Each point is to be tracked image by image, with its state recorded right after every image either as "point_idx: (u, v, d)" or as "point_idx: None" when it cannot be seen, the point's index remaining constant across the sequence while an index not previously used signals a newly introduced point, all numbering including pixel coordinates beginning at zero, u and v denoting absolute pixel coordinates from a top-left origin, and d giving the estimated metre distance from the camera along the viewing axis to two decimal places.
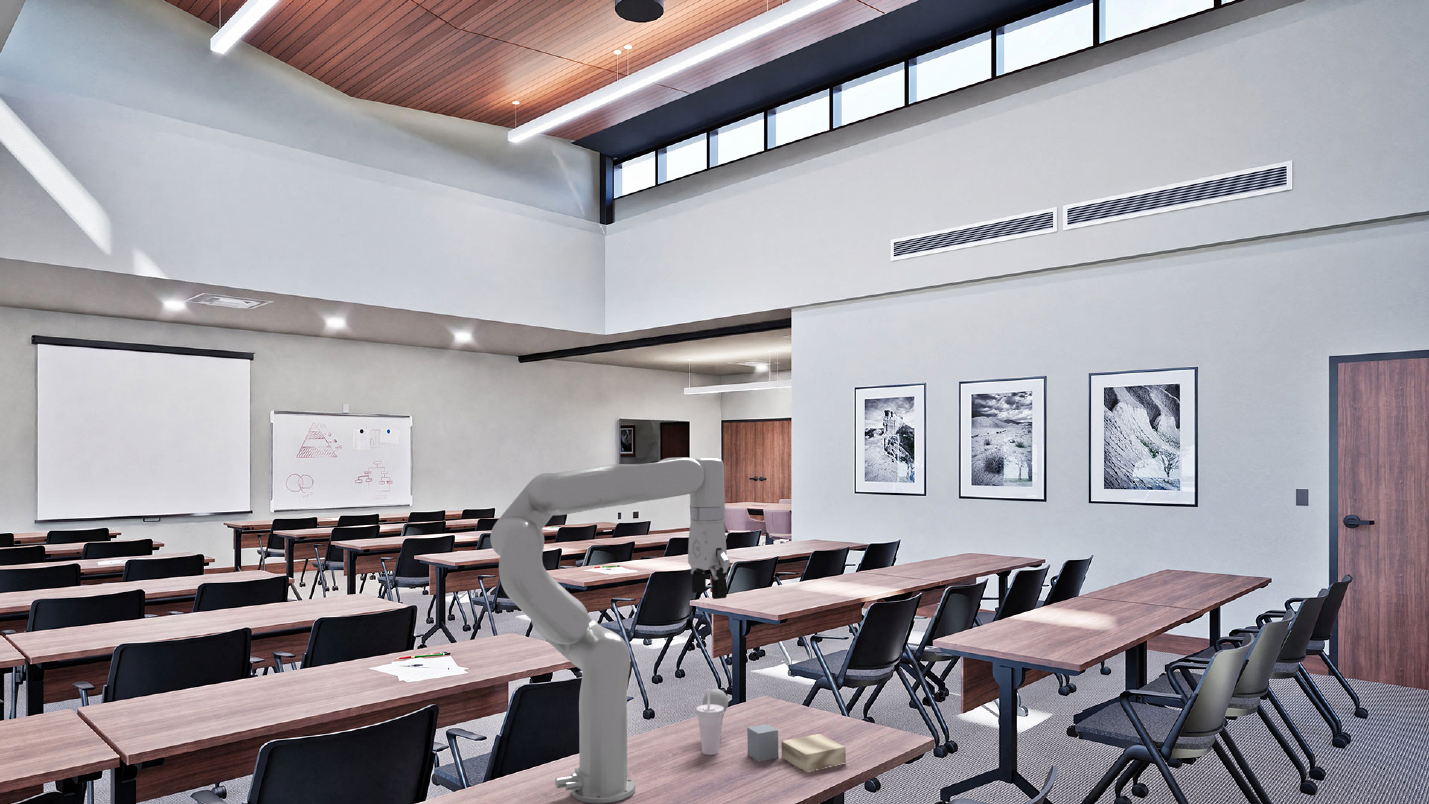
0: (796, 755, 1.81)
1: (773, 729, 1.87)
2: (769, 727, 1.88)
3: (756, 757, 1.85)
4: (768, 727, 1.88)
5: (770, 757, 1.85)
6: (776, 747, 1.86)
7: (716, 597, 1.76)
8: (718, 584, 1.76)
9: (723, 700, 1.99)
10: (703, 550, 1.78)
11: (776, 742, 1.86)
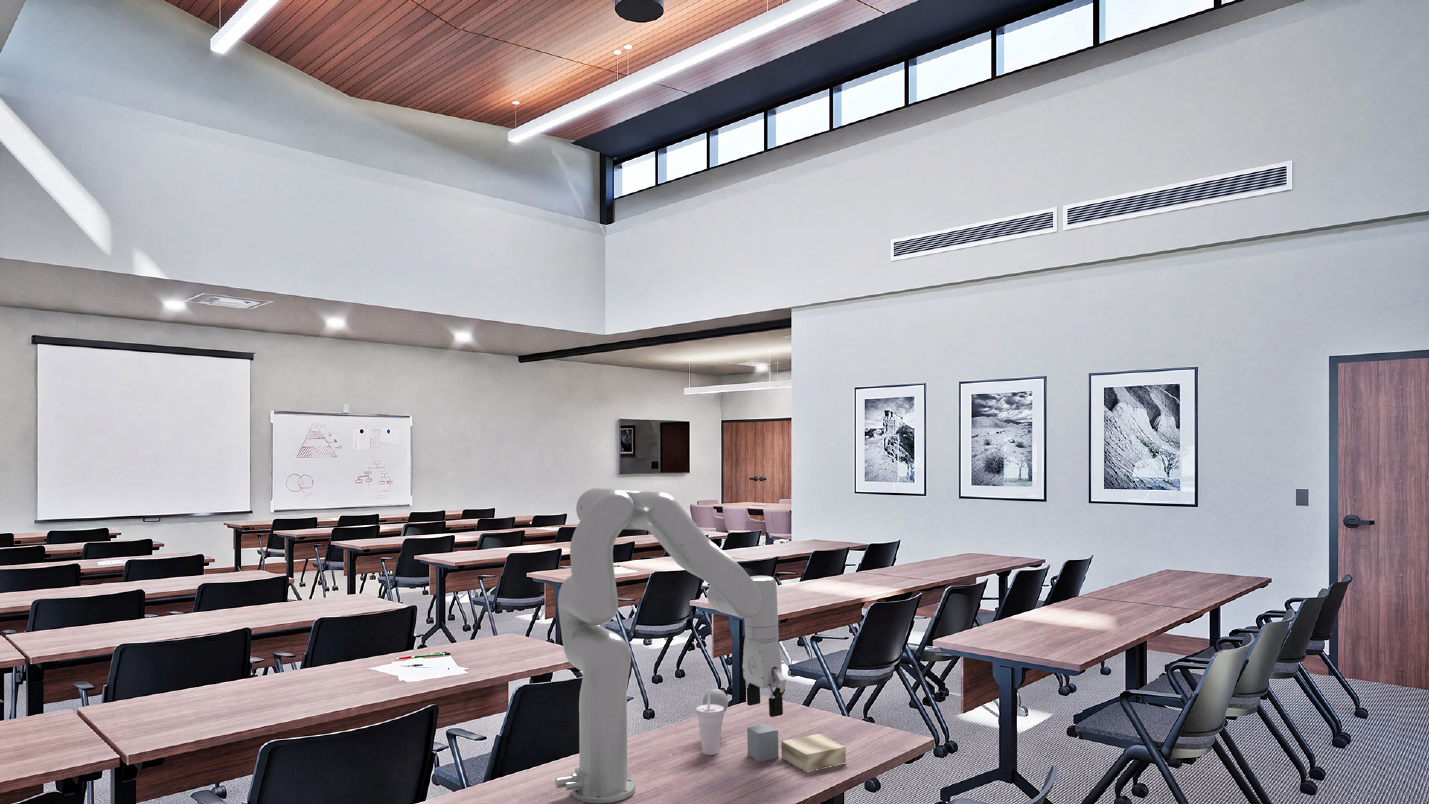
0: (796, 755, 1.81)
1: (773, 729, 1.87)
2: (769, 727, 1.88)
3: (756, 757, 1.85)
4: (768, 727, 1.88)
5: (770, 757, 1.85)
6: (776, 747, 1.86)
7: (773, 715, 1.83)
8: (775, 703, 1.83)
9: (723, 700, 1.99)
10: (759, 669, 1.84)
11: (776, 742, 1.86)
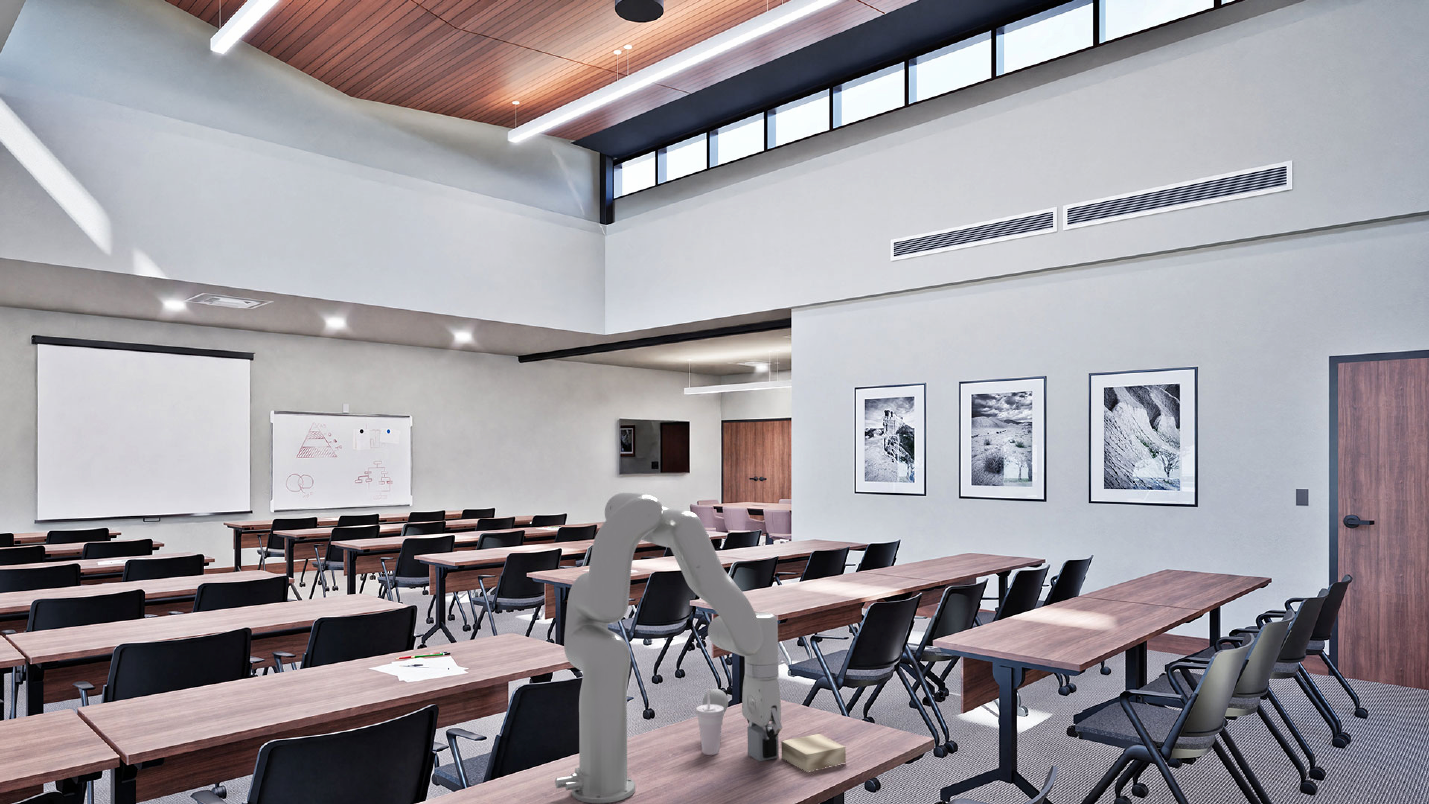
0: (796, 755, 1.81)
1: None
2: (769, 727, 1.88)
3: (756, 757, 1.85)
4: None
5: None
6: None
7: (767, 756, 1.84)
8: (769, 744, 1.84)
9: (723, 700, 1.99)
10: (758, 707, 1.84)
11: (776, 742, 1.86)
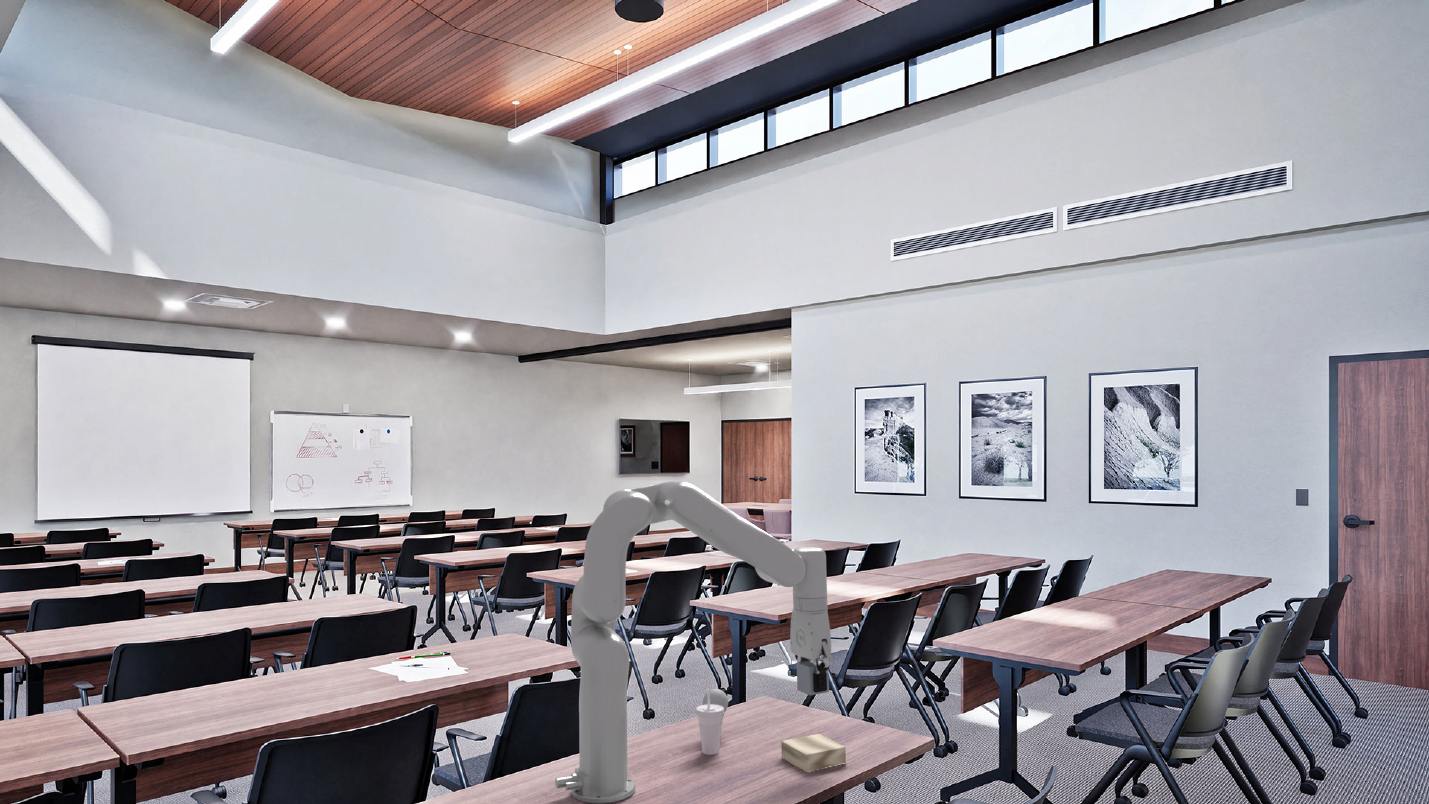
0: (796, 755, 1.81)
1: None
2: (819, 662, 1.86)
3: (807, 691, 1.82)
4: (818, 661, 1.86)
5: None
6: None
7: (817, 690, 1.82)
8: (819, 678, 1.81)
9: (723, 700, 1.99)
10: (809, 641, 1.81)
11: None
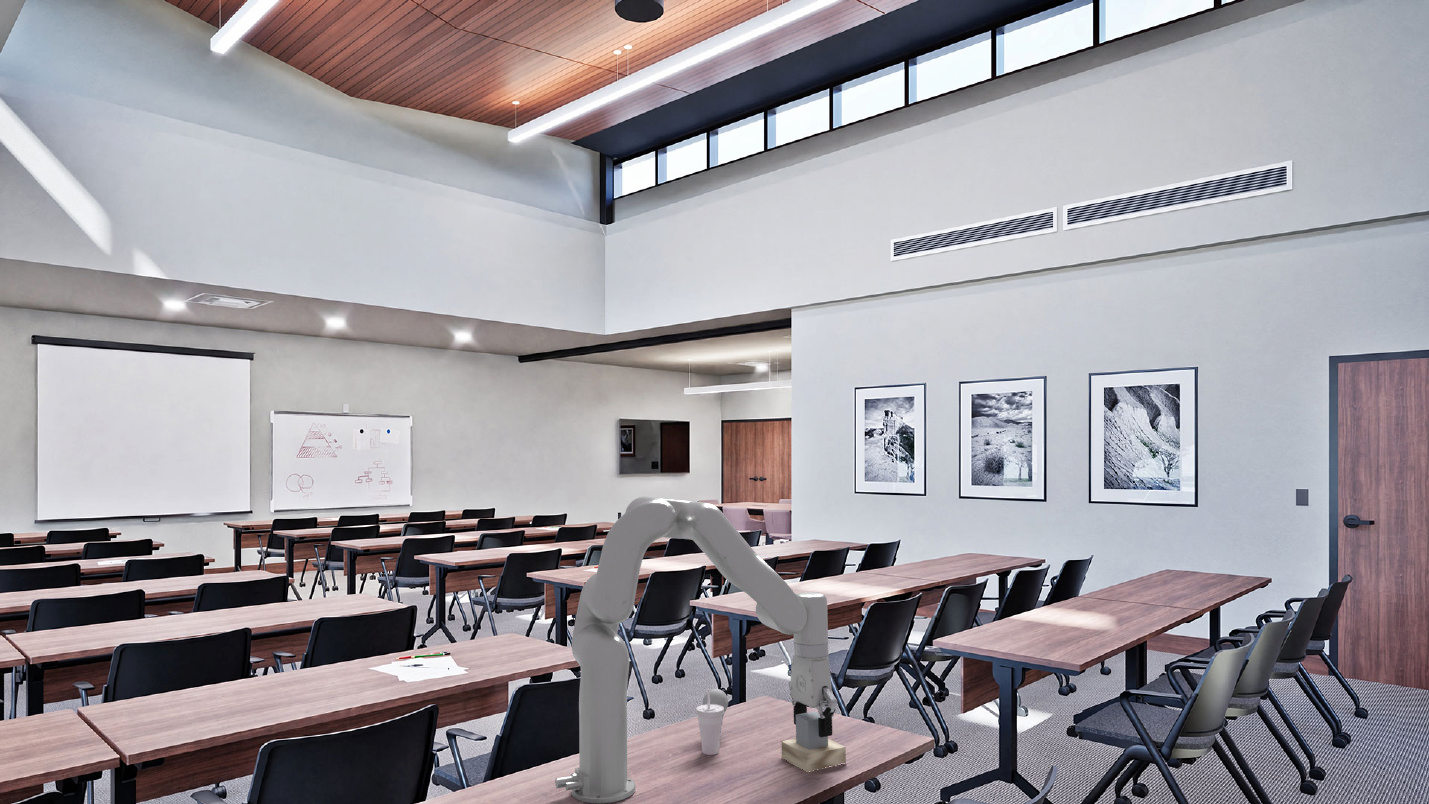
0: (796, 755, 1.81)
1: None
2: (818, 714, 1.85)
3: (805, 745, 1.81)
4: (817, 714, 1.85)
5: (820, 745, 1.82)
6: None
7: (823, 735, 1.79)
8: (825, 723, 1.79)
9: (723, 700, 1.99)
10: (809, 688, 1.81)
11: None
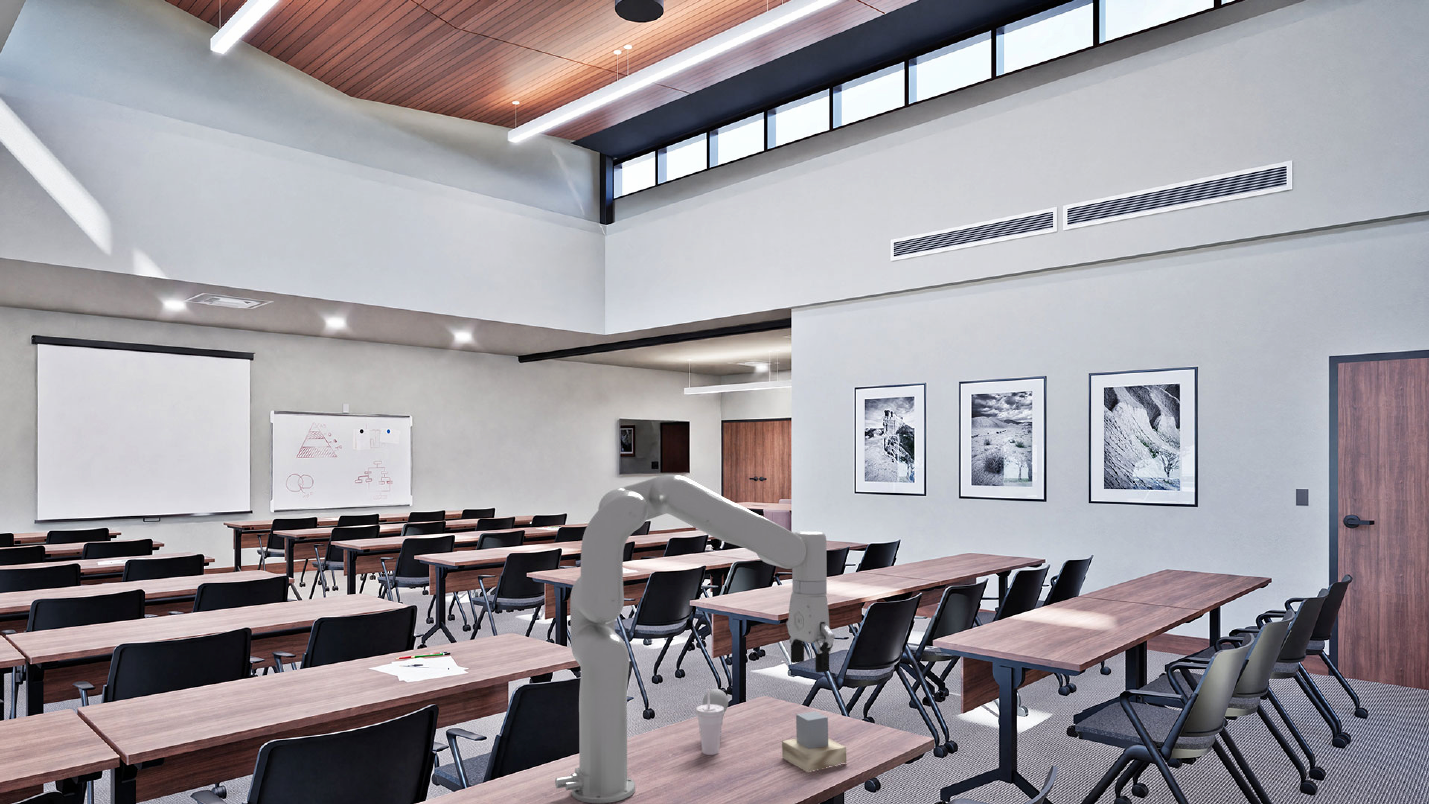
0: (796, 755, 1.81)
1: (823, 716, 1.84)
2: (818, 714, 1.85)
3: (805, 744, 1.82)
4: (817, 714, 1.85)
5: (820, 745, 1.82)
6: (826, 735, 1.83)
7: (819, 670, 1.80)
8: (822, 658, 1.80)
9: (723, 700, 1.99)
10: (807, 623, 1.81)
11: (826, 729, 1.83)
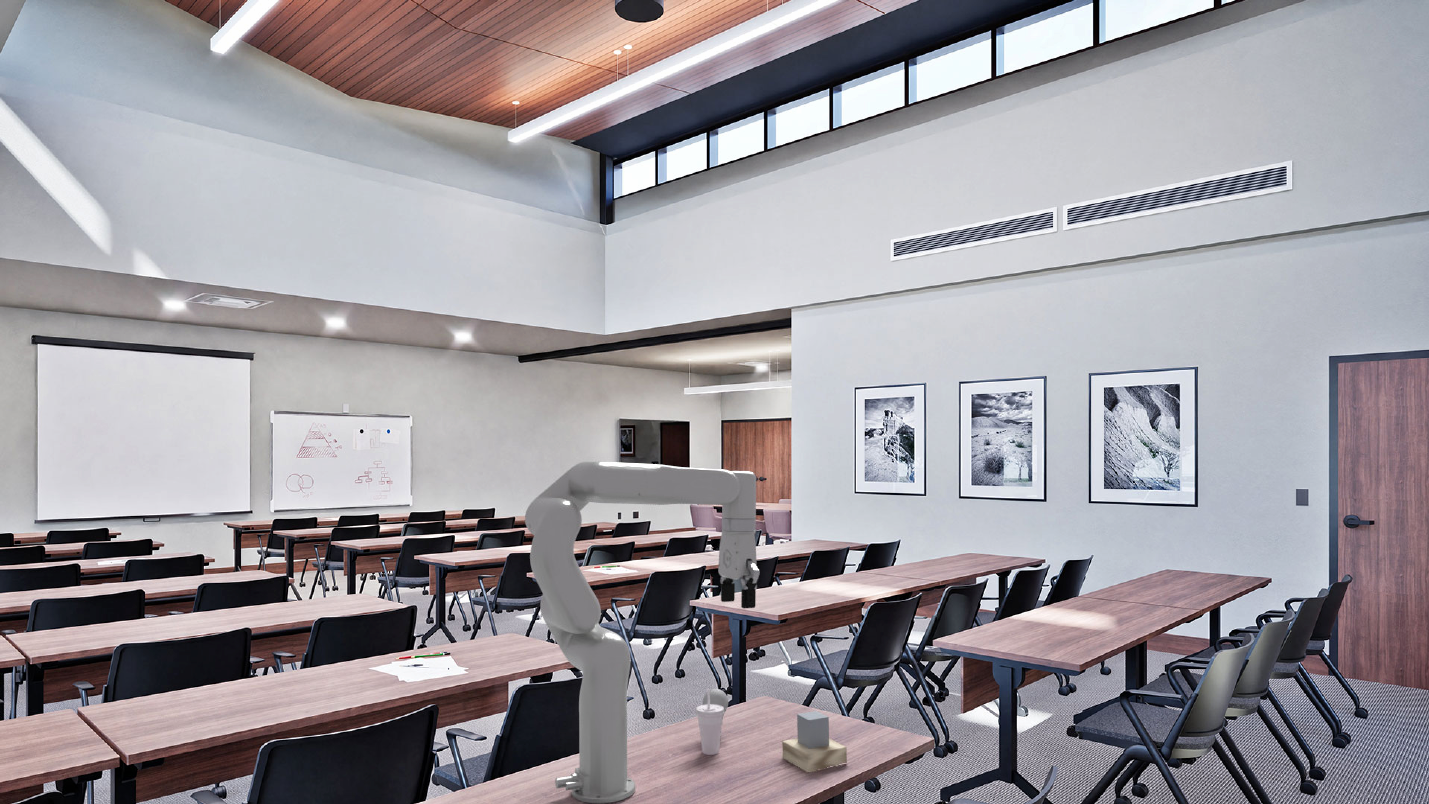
0: (797, 755, 1.80)
1: (823, 716, 1.84)
2: (819, 714, 1.85)
3: (806, 744, 1.82)
4: (818, 714, 1.85)
5: (821, 744, 1.82)
6: (827, 734, 1.83)
7: (745, 606, 1.81)
8: (748, 594, 1.81)
9: (723, 700, 1.99)
10: (734, 560, 1.83)
11: (827, 729, 1.83)
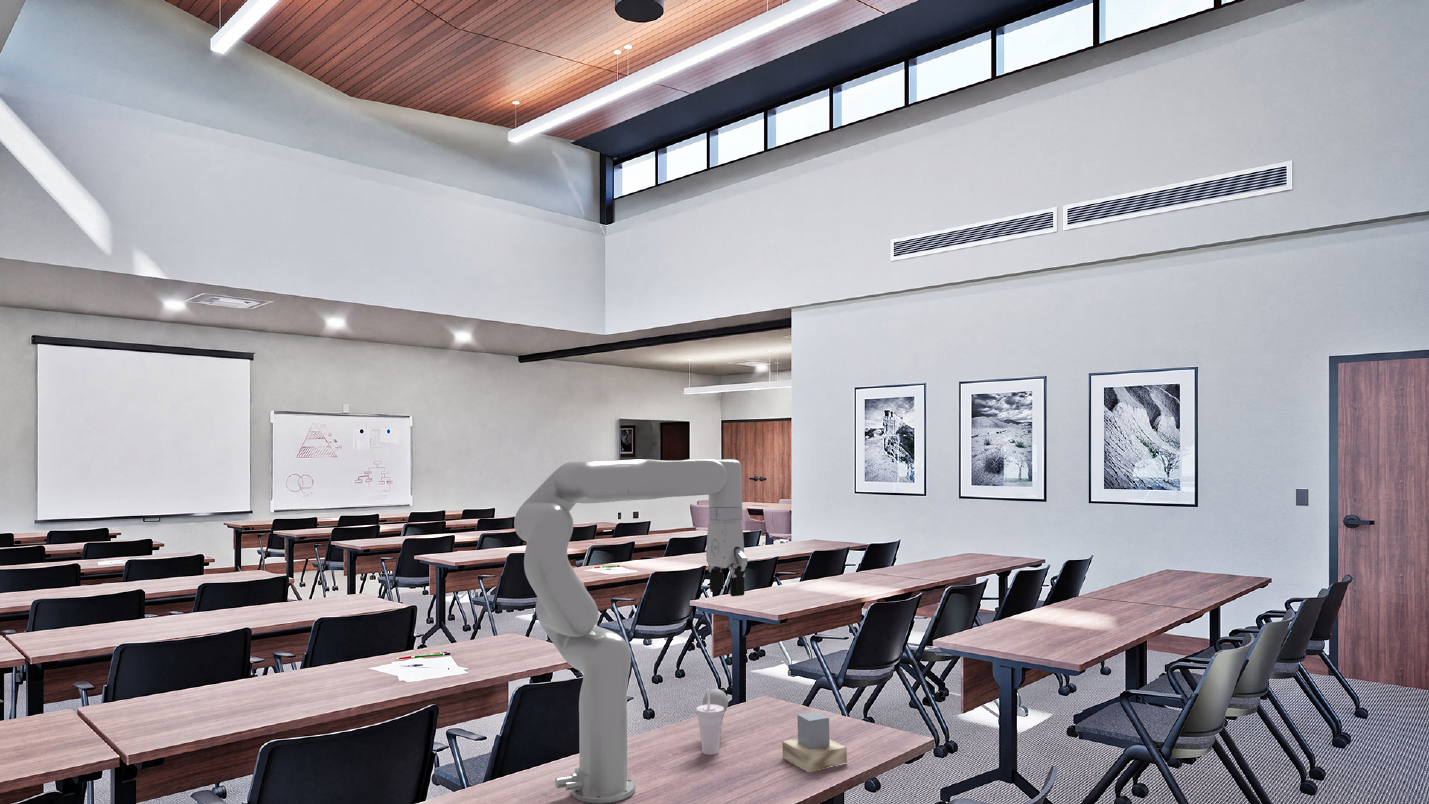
0: (797, 755, 1.80)
1: (824, 717, 1.83)
2: (820, 715, 1.85)
3: (807, 745, 1.81)
4: (819, 714, 1.85)
5: (821, 745, 1.82)
6: (827, 735, 1.82)
7: (734, 594, 1.82)
8: (736, 582, 1.81)
9: (723, 700, 1.99)
10: (722, 549, 1.83)
11: (827, 730, 1.82)
